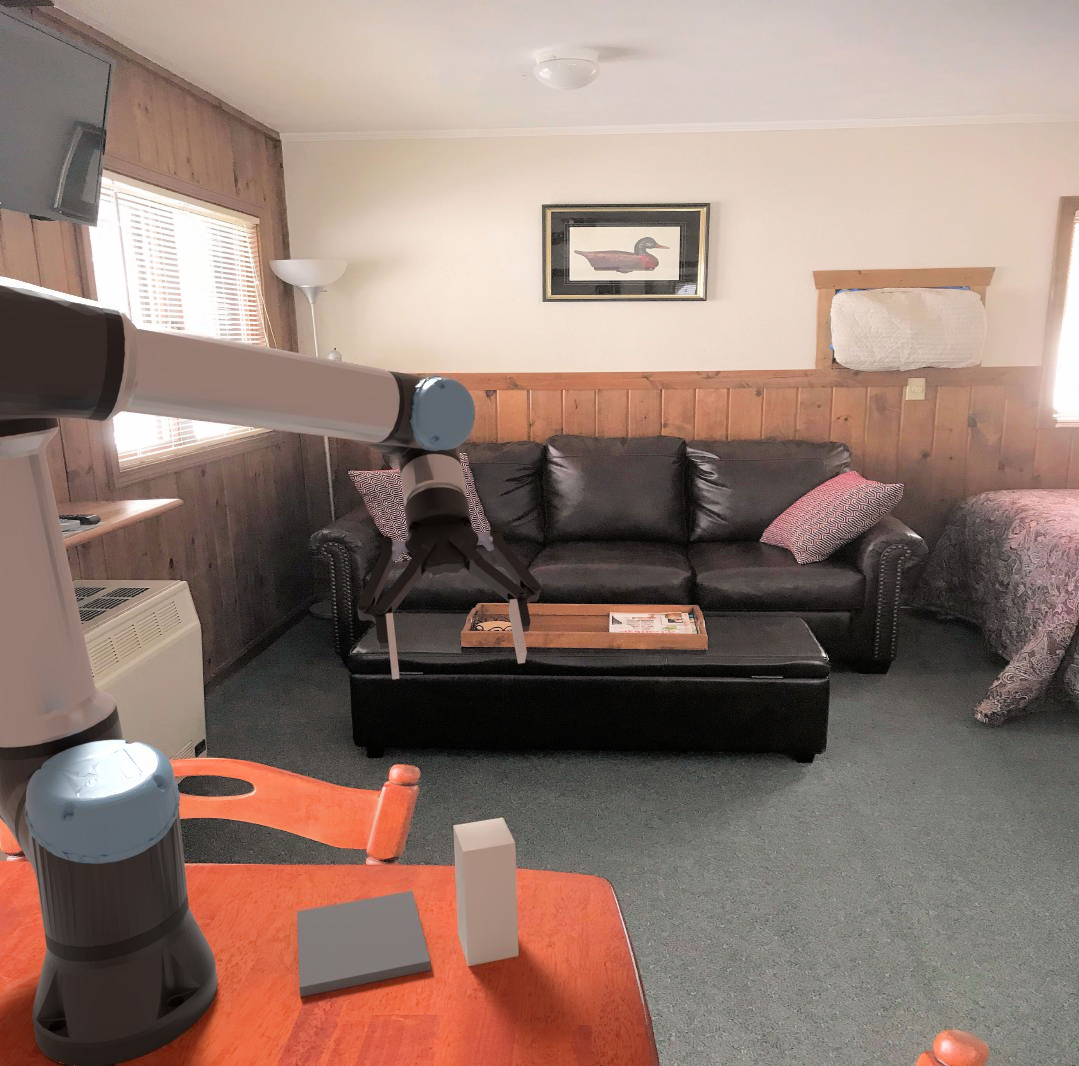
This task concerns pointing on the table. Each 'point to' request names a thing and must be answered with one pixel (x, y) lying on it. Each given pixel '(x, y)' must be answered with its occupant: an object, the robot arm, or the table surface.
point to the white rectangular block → (486, 890)
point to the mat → (360, 943)
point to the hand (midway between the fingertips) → (459, 666)
